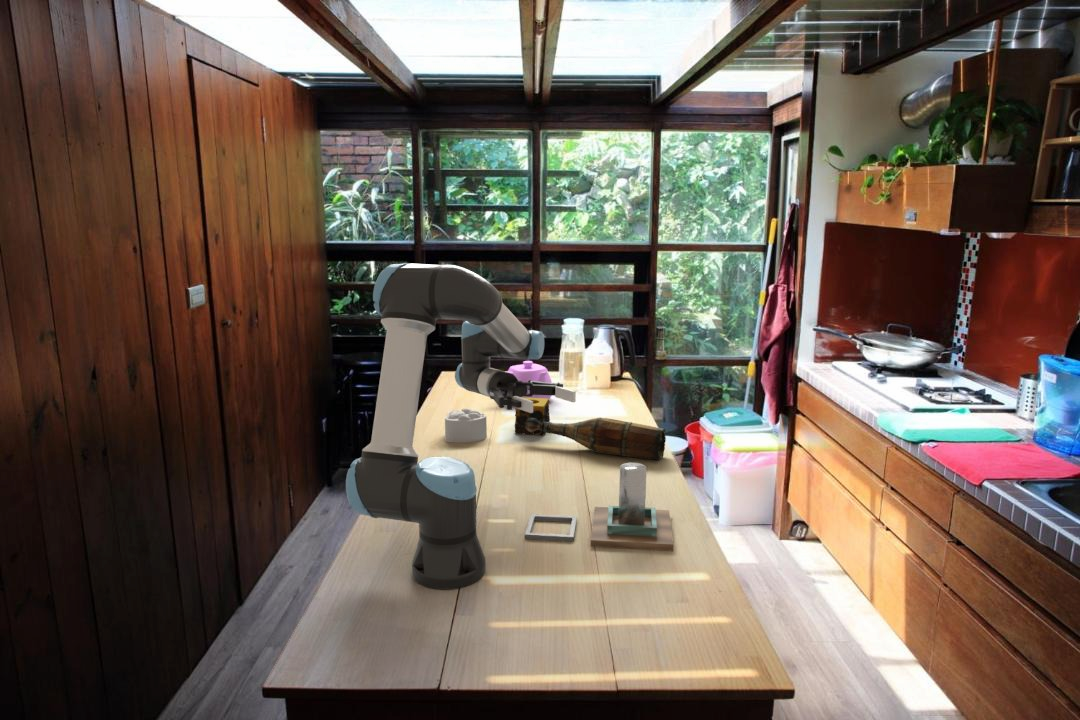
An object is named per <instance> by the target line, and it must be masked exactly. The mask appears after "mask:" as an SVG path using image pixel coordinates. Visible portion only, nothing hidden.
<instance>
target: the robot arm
mask: <svg viewBox="0 0 1080 720" xmlns="http://www.w3.org/2000/svg"><path fill="white" fill-rule="evenodd" d="M372 300H373V302H374V303H373V307H374V309H375V311H376V313H377V314H378V315H379V316H380V317H381V318H380V324H382V326H383V327H384V328H385V330H386V334H385V341H384V346H383V348H384V349H383V356H382V362H381V369H380V377H379V384H378V388H377V389H378V390H377V396H376V403H375V412H374V419H373V424H372V432H371V433H372V434H371V440H370V443H369V444H367V445H366V446H365V447H363V448H362V450H361V456H360V457H359V458H355V460H353V461H352V462H351V464H350V467H349V468H348V469H347V473H346V479H345V492H346V499H347V500H348V503H349V504H350V507H351V508H352V510H353V511H354V512H355V513H357V514H358V515H362V516H367V517H370V518H372V519H385V520H394V521H401V522H402V521H403V522H407V523H408V522H409V523H410V522H411V523H416V524H418V533H419V534H418V537H419V538H418V542H417V545H416V548H415V552H414V555H413V558H412V562H411V573H412V574H411V576H412V577H413V580H414V581H415V582H416V583H418V584H419V585H421V586H424V587H426V588H430V589H435V590H436V589H437V590H455V589H460V588H464V587H467V586H470V585H472V584H475V583H476V582H478V581H479V580H481V579H482V578H483V577H484V575H485V573H486V570H487V569H486V568H487V566H486V563H487V562H486V557H485V553H484V551H483V547H482V546H481V543H480V540H479V537H478V532H477V492H478V491H477V486H476V476H475V472H474V470H473V468H472V467H471V466H470V465H469V464H468V463H466V462H465V461H462V460H460V459H457V458H454V457H448V456H438V457H435V456H432V457H426V458H423V459H422V460H420V461H419V454H418V453H417V452H416V451H415V449H414V447H413V444H414V436H415V429H416V422H417V421H416V420H417V414H418V407H419V401H420V400H419V399H420V398H419V397H420V393H421V392H420V390H421V385H422V384H421V383H422V376H423V369H424V368H423V367H424V361H425V354H426V353H425V352H426V347H427V340H428V339H427V338H428V336H429V335H430V334H431V333H432V332H434V331H435V330H436V325H437V320H454V321H455V320H457V321H463V322H462V325H461V338H460V340H461V358H462V359H461V360H462V361H461V363H459V364H458V365H457V368H456V370H455V372H454V380H455V382H456V384H457V385H458V386H459V387H461V388H462V389H464V390H466V391H468V392H471V393H476V394H478V395H482V396H485V397H488V398H490V400H493V401H494V402H495V403H496V404H497V407H498V408H500V409H504V408H505V406H506V410H507V411H512V410H513V408H514V409H515V408H517V409H520V410H523V411H526V412H529V413H533V401H531V400H528V399H524V398H521V397H522V396H528V397H531V396H532V395H552V396H553V397H555V398H556V399H560V400H564V401H568V402H570V403H576V401H577V400H576V398H577V397H576V393H577V391H576V390H573V389H570V388H566V387H564V383H560V382H552V383H550V382H540V381H534V380H528V382H523V381H518V380H517V378H516V377H515V376H514V375H513V374H511V373H508V371H504V370H501V369H497V368H493V367H491V358H502V359H504V358H505V359H517V360H518V359H519V360H526V361H530V360H539V359H541V358H542V356H543V354H544V350H545V336H544V334H543V332H542V331H540V330H534V329H529V330H528V329H527V328H526V327H525V326H524V325H523V323H521V321H520V320H519V319H518V318H517V317H516V316H515V315H514V314H513V313H512V311H510V309H509V308H508V306H506V305H505V304H504V303H503V298H502V294H501V293H500V292H499V290H498V289H497V288H496V287H495V286H494V285H493V284H491V282H489V280H487V279H485V278H484V277H483V276H481V275H480V274H478V273H475V272H474V271H471V270H470V269H467V268H465V267H462V266H459V265H455V264H428V263H427V264H426V263H410V262H404V263H394V264H392V263H391V264H389V265H388V266H386V267H385V268H384V269H382V271H380V273H379V274H378V277H377V279H376V281H375V283H374V287H373V292H372ZM528 390H530V393H527V392H528ZM552 396H551V397H552ZM418 461H419V462H418Z"/></svg>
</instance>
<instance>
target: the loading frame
mask: <svg viewBox="0 0 1080 720" xmlns="http://www.w3.org/2000/svg"><path fill="white" fill-rule="evenodd" d="M535 521H546V522H547V521H548V522H549V521H550V522H568V523H569V522H570V523H571V524H570V529H569V534H562V533H561V534H560V533H540V532H533V527H534V524H535ZM577 523H578V515H577V516H574V515H558V514H557V515H555V514H535V513H531V514H530V517H529V520H528V523H527V527H526V531H525V533H524V539H526V540H527V539H528V540H546V541H560V542H561V541H563V542H565V541H566V542H574V541H575V540H574V539H575V534H576V528H577Z"/></svg>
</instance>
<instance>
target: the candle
mask: <svg viewBox="0 0 1080 720" xmlns="http://www.w3.org/2000/svg"><path fill="white" fill-rule="evenodd" d="M521 398H524V399H528V400H531V401H533V413H529V412H526V411H523V410H520V409H517V408H514V409H515V414H514V417H515V420H514V434H516V435H517V434H518V435H529V436H530V435H531V436H532V435H533V436H534V435H536V436H542V437H543V436H546V434H547V432H544V431H541V430H536V431H533V432H528V431H527V430H526V428H525V426H524V422H525V419H528V418H536V419H537V420H538V421H539V422H540V423H542V422H551V419H550V399H547V398H526V397H521Z"/></svg>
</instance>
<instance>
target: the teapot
mask: <svg viewBox="0 0 1080 720" xmlns="http://www.w3.org/2000/svg"><path fill="white" fill-rule="evenodd" d="M507 372H508V373H511V374H513V375H514V376H515V377H516V378H517V380H518V381H523V382H528V380H534V381H540V382H550V383H553V381H552V378H551V376H550V373H549V371H548V368H546V366H543V365H541V364H537V363H534V362H533V361H532V360H525V361H522V364H516V365H512V366H511V365H510V367H509V368H508V370H507ZM527 393H530V390H528V392H527ZM522 397H526V398H547V399H549V400H550V399H551V398H552V395H532V396H531V397H528V396H522Z"/></svg>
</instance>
